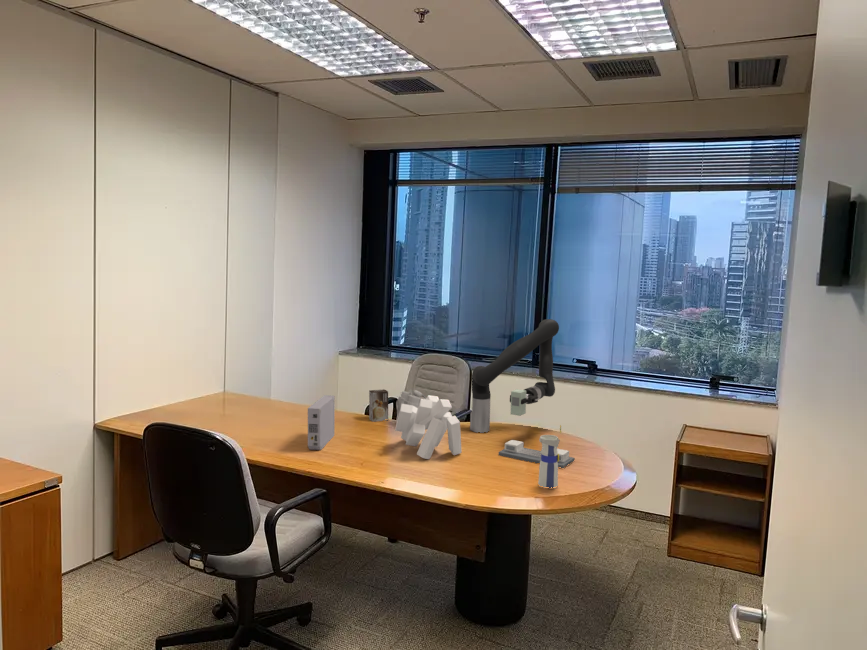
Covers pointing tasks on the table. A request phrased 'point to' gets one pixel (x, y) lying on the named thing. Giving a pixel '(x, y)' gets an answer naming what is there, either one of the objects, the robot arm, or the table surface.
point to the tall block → (518, 402)
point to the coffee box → (378, 405)
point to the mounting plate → (532, 453)
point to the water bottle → (549, 461)
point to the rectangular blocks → (518, 445)
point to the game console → (321, 422)
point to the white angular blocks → (429, 425)
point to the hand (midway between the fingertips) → (516, 401)
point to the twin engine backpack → (409, 399)
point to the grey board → (531, 459)
